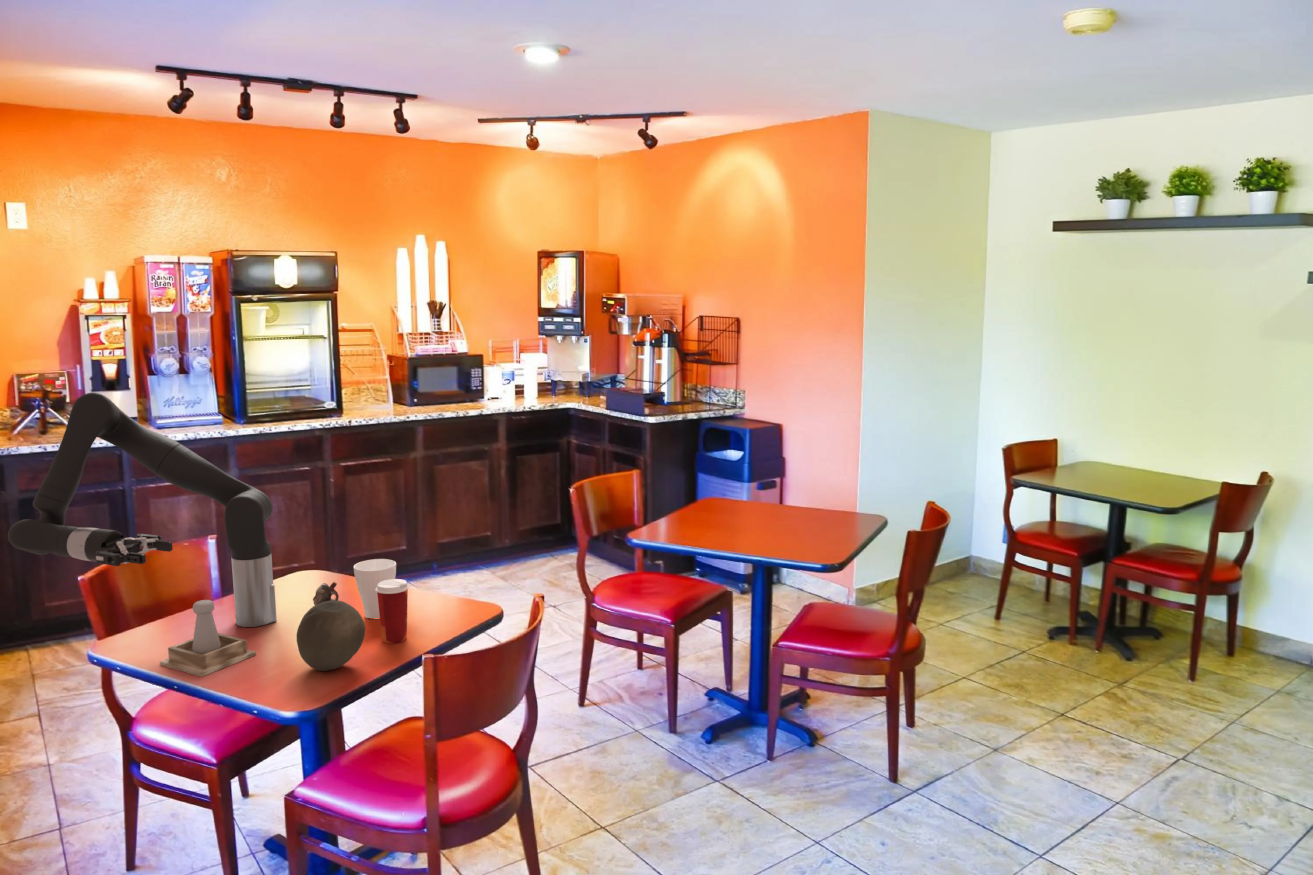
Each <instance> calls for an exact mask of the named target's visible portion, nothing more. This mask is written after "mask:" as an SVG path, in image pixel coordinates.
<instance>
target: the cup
mask: <svg viewBox="0 0 1313 875" xmlns="http://www.w3.org/2000/svg"><path fill="white" fill-rule="evenodd" d="M353 574H354V579H355V583H356V586H357V591H358V593H359V595H360V599H361V602H362V606H363V611H364V617H365V618H366V619H368V618H371V619H370V620H373V619H372V618H380V615H379V605H378V596H377V592H376V588H377V585H378V583H379V582H381V581H384V580H390V579H396V577H397V576H396V574H397V562H396V561H395V560H392V559H387V558H374V559H367V560H363V561H360V562H357V563H355V564H354V565H353Z"/></svg>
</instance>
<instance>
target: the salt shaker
mask: <svg viewBox="0 0 1313 875" xmlns="http://www.w3.org/2000/svg"><path fill="white" fill-rule="evenodd" d="M214 610H215V603H214V601H212V600H210V599H202V600H197V601H196V602H194V603H193V605H192V611H193V613H194V614H196V619H195V626H194V632H193V638H192V639H193V645H192V650H193V652H195V653H199V654H202V655H203V654H206V653H208V652H211V651H214V650H216V649H219V648H220V646H221V644H220V640H219V636H218V633H219V632H218V630H217V625H216V622H215V619H214V615H213V611H214Z"/></svg>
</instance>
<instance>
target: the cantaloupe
mask: <svg viewBox="0 0 1313 875" xmlns="http://www.w3.org/2000/svg"><path fill="white" fill-rule="evenodd" d="M296 630H297V631H296V643H297V647H298V652H299V656H300V657H301V659H302V660H303V661H304V663H305V664H307V666H309V667H310V668H312V669H314V670H317V671H320V672H321V671H323V672H324V671H325V672H326V671H332V670H336V669H338V668H340V667H342V666H344V665H345V664H347V663H348V662H349V661H350V660H351V659H352V658H353V657H354V656H355V655H356V654H357V653H358V652H359V650H360V649H361V647H362V645H363V643H364V639H365V636H366V624H365V621H364V619H363V617H362V615H361V613H360V612H359V611H358V610H357V609H356V608H355V607H354V606H352V605H350V604H349V603H347V602H346V601H342V600H338V601H337V600H331V601H326V602H322V603H319V604H317V605H314V606H312V607H311V608H310V609H309V610H308V611H307V612H306V613H305V614H304V615H303V616H302V619H301V620H300V622H299V624H298V627H297V629H296Z"/></svg>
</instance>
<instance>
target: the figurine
mask: <svg viewBox="0 0 1313 875" xmlns="http://www.w3.org/2000/svg"><path fill="white" fill-rule="evenodd" d="M336 587H337V583H336V582H335V581H333V582H332V583H331V584H330V585H329V584H328V583H326V582H323V583H321V584H320V585H319V586H318V587H317V589H316V590H315V595H314V597H313V598H312V601H313V605H314V606H315V605H317V604H319V603H322V602H326V601H331V600H337V601H339V593H338V591H337V590H336ZM332 595H333V596H335V598H334V599H333V598H332Z"/></svg>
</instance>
